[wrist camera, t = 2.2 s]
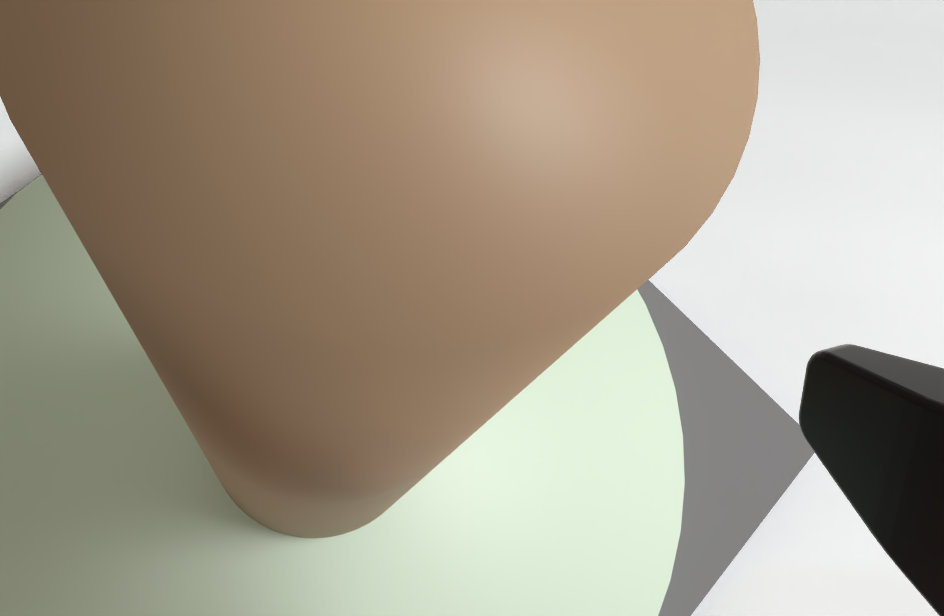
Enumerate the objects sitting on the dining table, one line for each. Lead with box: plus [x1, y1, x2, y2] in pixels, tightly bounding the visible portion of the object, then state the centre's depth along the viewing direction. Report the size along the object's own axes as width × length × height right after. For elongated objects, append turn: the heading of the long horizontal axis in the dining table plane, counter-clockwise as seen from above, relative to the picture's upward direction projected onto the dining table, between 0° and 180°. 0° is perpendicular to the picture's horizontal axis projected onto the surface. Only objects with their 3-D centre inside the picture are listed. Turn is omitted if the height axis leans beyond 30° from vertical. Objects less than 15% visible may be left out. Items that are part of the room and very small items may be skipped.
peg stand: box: [0, 0, 760, 616], centre depth 11 cm, size 15×15×14 cm
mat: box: [0, 191, 814, 616], centre depth 18 cm, size 16×16×1 cm
